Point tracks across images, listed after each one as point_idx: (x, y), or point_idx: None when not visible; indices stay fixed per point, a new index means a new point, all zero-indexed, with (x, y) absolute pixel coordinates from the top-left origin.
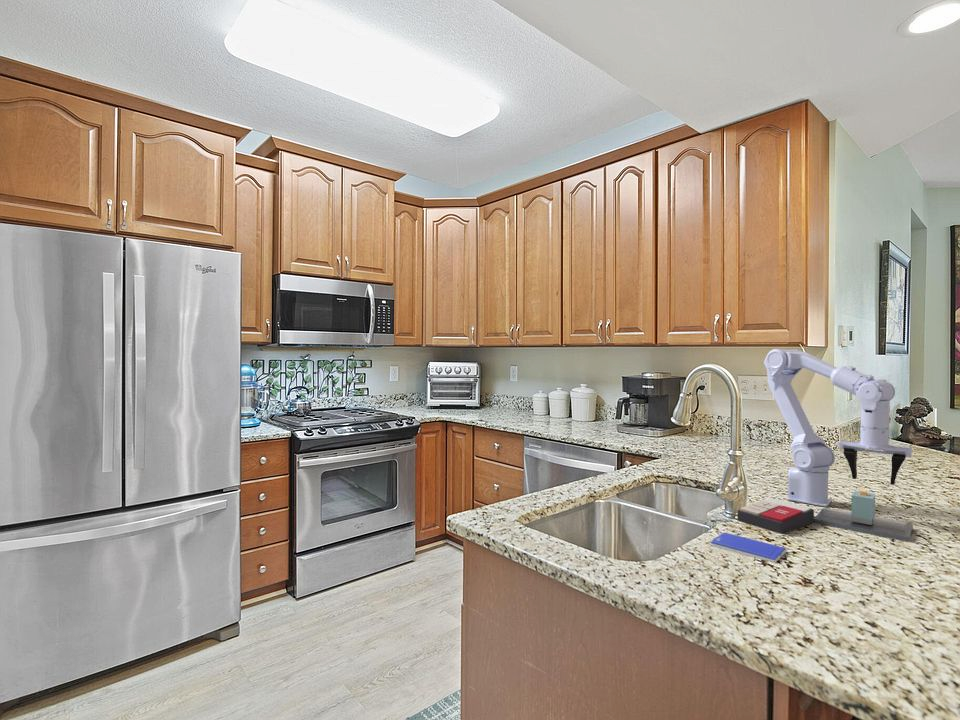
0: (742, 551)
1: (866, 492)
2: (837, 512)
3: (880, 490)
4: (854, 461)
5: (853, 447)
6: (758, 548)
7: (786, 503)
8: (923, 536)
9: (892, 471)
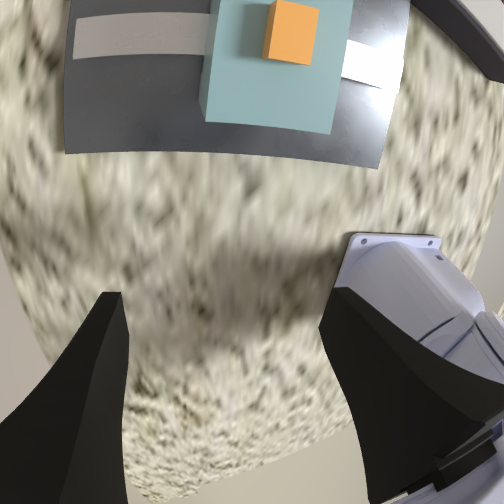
0: None
1: (276, 5)
2: (353, 42)
3: (209, 442)
4: (418, 377)
5: (445, 499)
6: None
7: (500, 27)
8: (38, 67)
9: (86, 366)
